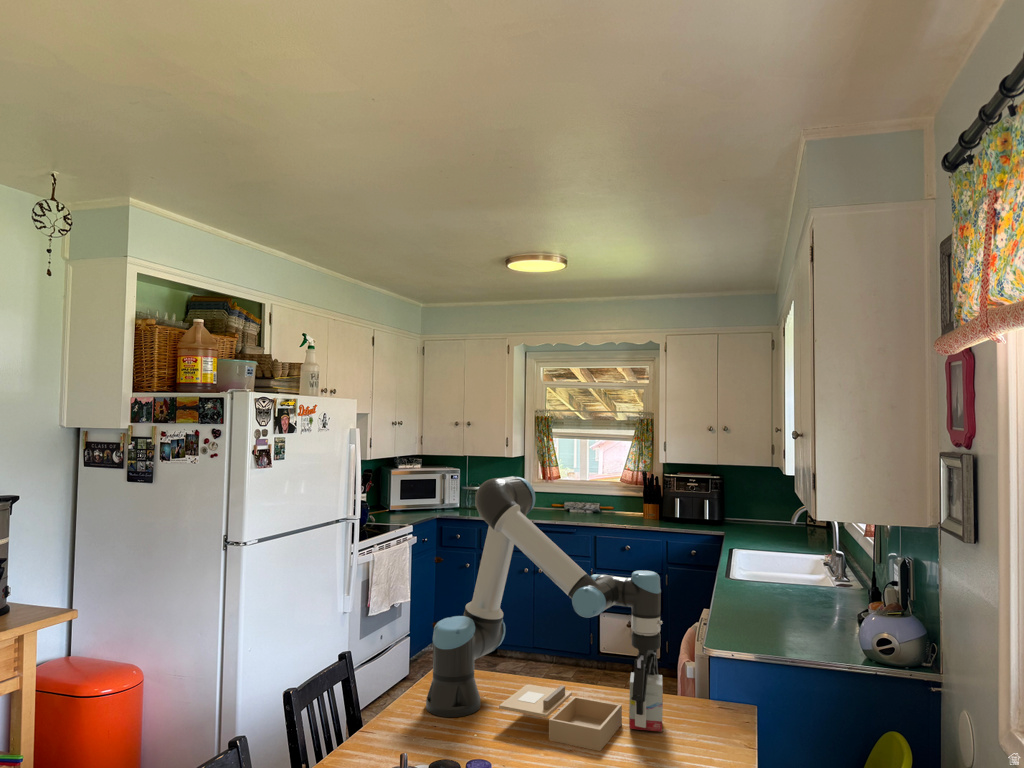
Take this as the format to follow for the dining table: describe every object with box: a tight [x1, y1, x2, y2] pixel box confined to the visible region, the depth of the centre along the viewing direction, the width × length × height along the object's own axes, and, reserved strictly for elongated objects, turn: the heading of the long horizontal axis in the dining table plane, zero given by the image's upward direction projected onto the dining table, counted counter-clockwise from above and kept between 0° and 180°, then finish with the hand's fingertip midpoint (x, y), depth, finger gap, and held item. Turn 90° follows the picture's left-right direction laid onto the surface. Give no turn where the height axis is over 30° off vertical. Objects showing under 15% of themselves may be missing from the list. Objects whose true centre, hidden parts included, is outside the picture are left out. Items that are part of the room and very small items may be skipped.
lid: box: [498, 683, 573, 719], centre depth 184 cm, size 13×17×3 cm
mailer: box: [548, 696, 623, 752], centre depth 178 cm, size 13×17×5 cm
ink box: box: [628, 671, 664, 733], centre depth 182 cm, size 9×9×12 cm
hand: (645, 719), depth 182 cm, fingers closed on ink box, 10 cm apart
